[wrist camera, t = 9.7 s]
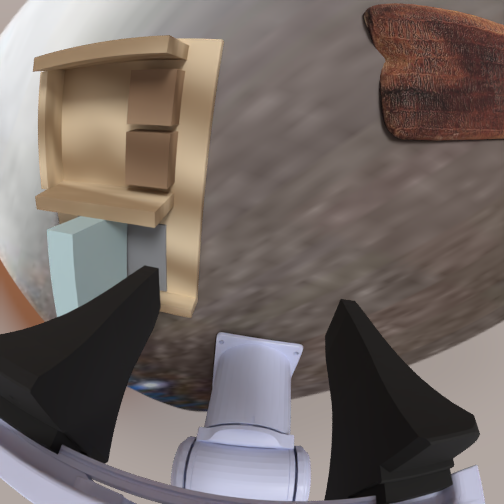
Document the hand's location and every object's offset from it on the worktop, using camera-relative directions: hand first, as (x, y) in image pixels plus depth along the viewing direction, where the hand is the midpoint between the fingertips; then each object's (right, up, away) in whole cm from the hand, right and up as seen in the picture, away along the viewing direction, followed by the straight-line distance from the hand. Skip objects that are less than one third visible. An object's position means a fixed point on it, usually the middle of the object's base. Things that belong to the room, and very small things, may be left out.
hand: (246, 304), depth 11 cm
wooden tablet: (+21, +16, +1) cm, 26 cm away
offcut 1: (-6, +12, +5) cm, 14 cm away
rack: (-9, +8, +8) cm, 14 cm away
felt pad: (-10, +2, +11) cm, 15 cm away
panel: (-10, +2, +10) cm, 14 cm away
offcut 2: (-6, +8, +7) cm, 12 cm away
